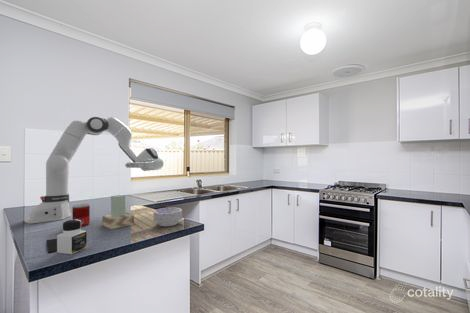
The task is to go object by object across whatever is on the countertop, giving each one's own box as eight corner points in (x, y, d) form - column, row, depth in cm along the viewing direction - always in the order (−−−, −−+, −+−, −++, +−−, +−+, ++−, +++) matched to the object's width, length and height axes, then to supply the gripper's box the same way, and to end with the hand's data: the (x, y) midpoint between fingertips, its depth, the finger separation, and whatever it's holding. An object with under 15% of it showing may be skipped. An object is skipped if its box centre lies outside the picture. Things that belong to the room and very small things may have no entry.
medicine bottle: (72, 254, 91) (71, 223, 91) (56, 253, 92) (56, 222, 92) (87, 247, 98) (87, 218, 98) (72, 246, 99) (72, 217, 99)
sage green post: (111, 216, 130) (110, 196, 130) (118, 214, 134) (118, 194, 134) (118, 217, 128) (118, 196, 128) (125, 214, 133) (125, 195, 133)
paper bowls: (167, 230, 121) (167, 214, 121) (147, 225, 129) (147, 211, 129) (188, 222, 134) (187, 208, 134) (169, 219, 142) (169, 206, 142)
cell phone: (48, 254, 92) (48, 252, 92) (46, 242, 106) (46, 239, 106) (75, 248, 98) (75, 246, 98) (70, 237, 112) (70, 235, 112)
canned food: (92, 223, 134) (92, 204, 134) (79, 227, 126) (79, 207, 126) (82, 222, 136) (82, 203, 136) (69, 226, 128) (69, 206, 129)
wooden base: (110, 229, 123) (110, 219, 123) (102, 224, 131) (102, 215, 131) (133, 224, 131) (133, 215, 131) (124, 220, 140) (124, 212, 140)
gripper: (134, 160, 173) (119, 160, 160) (157, 160, 166) (143, 160, 153) (134, 169, 173) (119, 170, 160) (157, 169, 166) (144, 170, 153)
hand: (131, 165), depth 156 cm, fingers open, 8 cm apart
